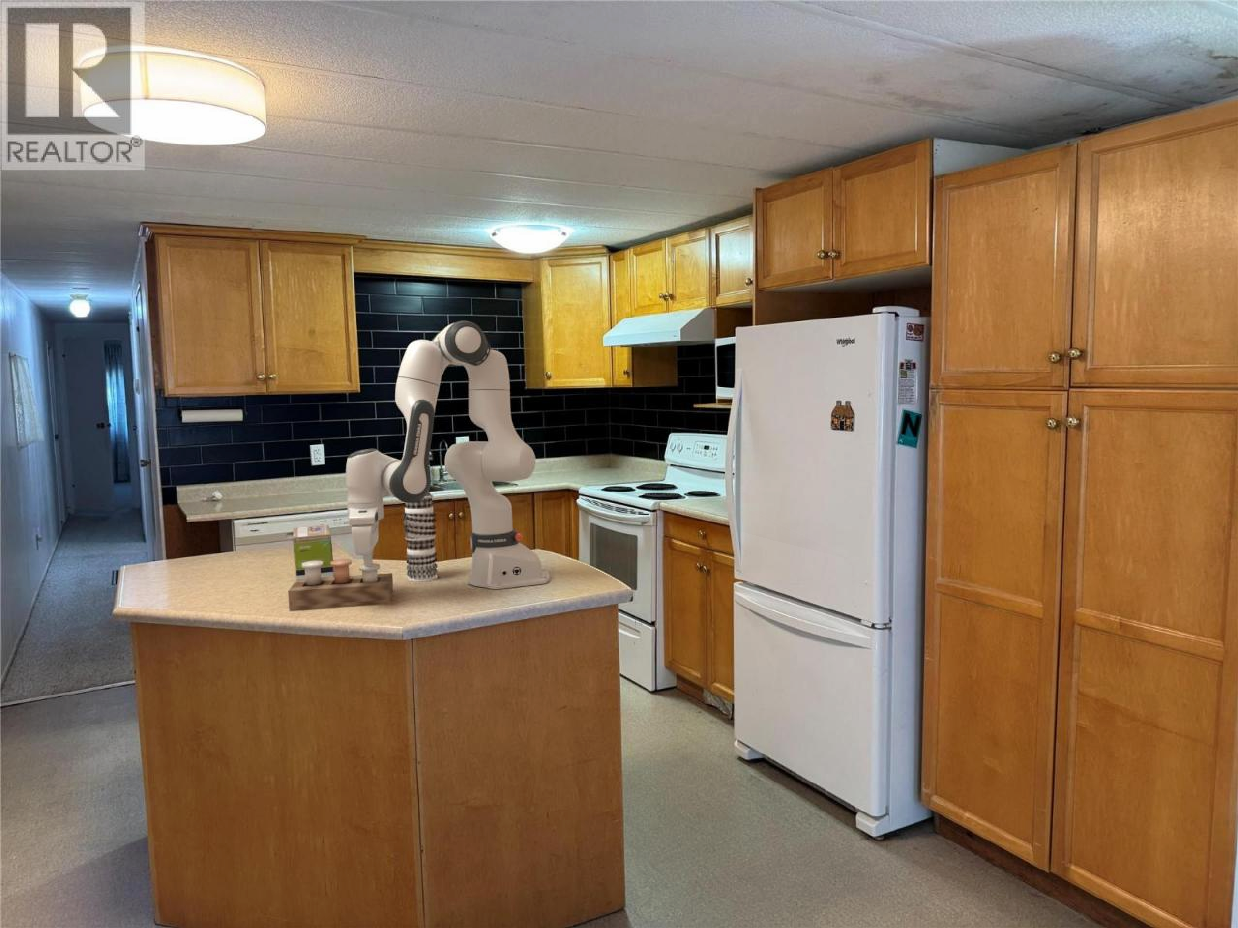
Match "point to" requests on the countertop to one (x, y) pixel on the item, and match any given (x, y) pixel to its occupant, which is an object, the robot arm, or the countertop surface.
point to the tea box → (313, 549)
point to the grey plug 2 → (370, 572)
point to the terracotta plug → (341, 570)
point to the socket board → (340, 593)
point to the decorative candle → (420, 540)
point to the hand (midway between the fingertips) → (368, 565)
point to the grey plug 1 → (312, 572)
